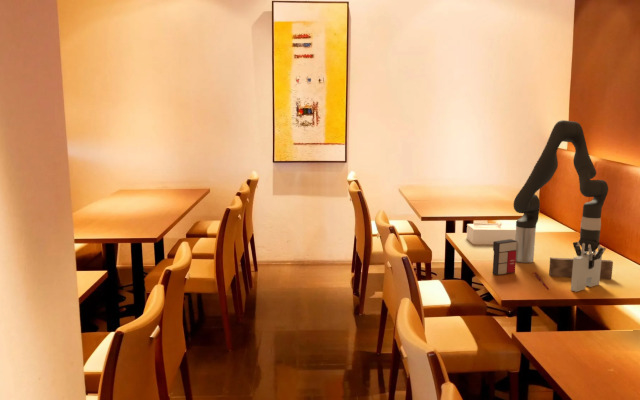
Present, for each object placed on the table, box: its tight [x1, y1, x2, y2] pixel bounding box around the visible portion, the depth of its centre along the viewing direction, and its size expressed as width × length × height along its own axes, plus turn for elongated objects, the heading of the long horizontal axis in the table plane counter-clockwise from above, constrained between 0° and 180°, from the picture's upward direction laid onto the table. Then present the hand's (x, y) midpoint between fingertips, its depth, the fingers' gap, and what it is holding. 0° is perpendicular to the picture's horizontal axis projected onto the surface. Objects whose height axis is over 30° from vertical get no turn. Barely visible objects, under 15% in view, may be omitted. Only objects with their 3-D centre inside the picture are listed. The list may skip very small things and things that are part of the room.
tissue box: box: [466, 221, 516, 245], centre depth 331 cm, size 14×25×11 cm, turn 90°
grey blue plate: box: [570, 250, 603, 293], centre depth 249 cm, size 18×2×14 cm, turn 126°
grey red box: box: [492, 239, 517, 276], centre depth 268 cm, size 11×4×15 cm, turn 117°
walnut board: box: [548, 257, 614, 280], centre depth 264 cm, size 26×2×8 cm, turn 81°
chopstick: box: [531, 271, 550, 291], centre depth 258 cm, size 2×24×1 cm, turn 175°
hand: (587, 267), depth 248 cm, fingers closed on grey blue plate, 2 cm apart
